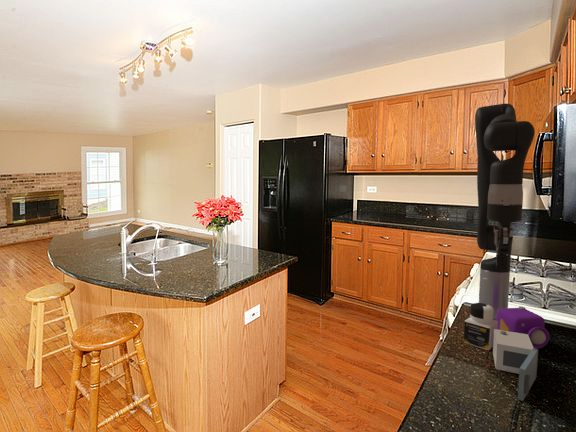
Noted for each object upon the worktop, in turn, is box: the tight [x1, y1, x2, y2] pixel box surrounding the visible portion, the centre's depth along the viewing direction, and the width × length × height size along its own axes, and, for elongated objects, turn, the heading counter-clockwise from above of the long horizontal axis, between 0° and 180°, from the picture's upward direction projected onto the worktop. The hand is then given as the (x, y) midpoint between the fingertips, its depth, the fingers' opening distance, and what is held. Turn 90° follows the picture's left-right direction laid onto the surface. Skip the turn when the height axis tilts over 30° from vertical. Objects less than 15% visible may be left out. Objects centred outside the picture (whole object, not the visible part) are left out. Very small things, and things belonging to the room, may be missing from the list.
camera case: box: [492, 329, 534, 375], centre depth 92 cm, size 10×9×8 cm
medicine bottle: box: [463, 302, 498, 351], centre depth 104 cm, size 7×7×12 cm
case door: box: [517, 347, 539, 402], centre depth 80 cm, size 2×14×7 cm, turn 134°
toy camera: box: [496, 305, 550, 350], centre depth 103 cm, size 11×14×10 cm
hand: (501, 268), depth 89 cm, fingers closed
